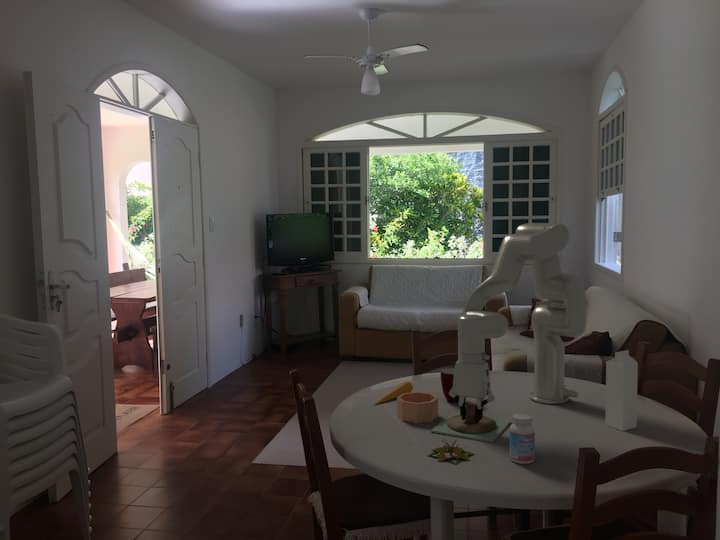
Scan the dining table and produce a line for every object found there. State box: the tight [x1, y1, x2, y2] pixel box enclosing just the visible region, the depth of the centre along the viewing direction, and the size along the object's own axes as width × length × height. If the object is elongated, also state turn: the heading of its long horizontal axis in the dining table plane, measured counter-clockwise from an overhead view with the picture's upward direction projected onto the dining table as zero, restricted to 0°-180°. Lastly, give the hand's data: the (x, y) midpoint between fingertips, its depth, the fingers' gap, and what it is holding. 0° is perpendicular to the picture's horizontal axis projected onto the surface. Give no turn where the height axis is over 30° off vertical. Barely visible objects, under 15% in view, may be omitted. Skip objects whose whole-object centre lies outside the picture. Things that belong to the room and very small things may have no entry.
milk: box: [604, 349, 639, 432], centre depth 172 cm, size 6×6×22 cm
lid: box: [447, 402, 496, 434], centre depth 173 cm, size 14×14×6 cm
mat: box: [430, 411, 512, 443], centre depth 174 cm, size 18×18×1 cm
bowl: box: [396, 391, 439, 424], centre depth 184 cm, size 12×12×6 cm
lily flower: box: [426, 437, 475, 466], centre depth 154 cm, size 12×12×5 cm
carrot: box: [373, 381, 414, 406], centre depth 204 cm, size 20×4×4 cm, turn 138°
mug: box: [440, 367, 458, 403], centre depth 199 cm, size 10×8×10 cm
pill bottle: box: [509, 413, 536, 465], centre depth 149 cm, size 6×6×11 cm
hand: (471, 419), depth 174 cm, fingers closed on lid, 3 cm apart
